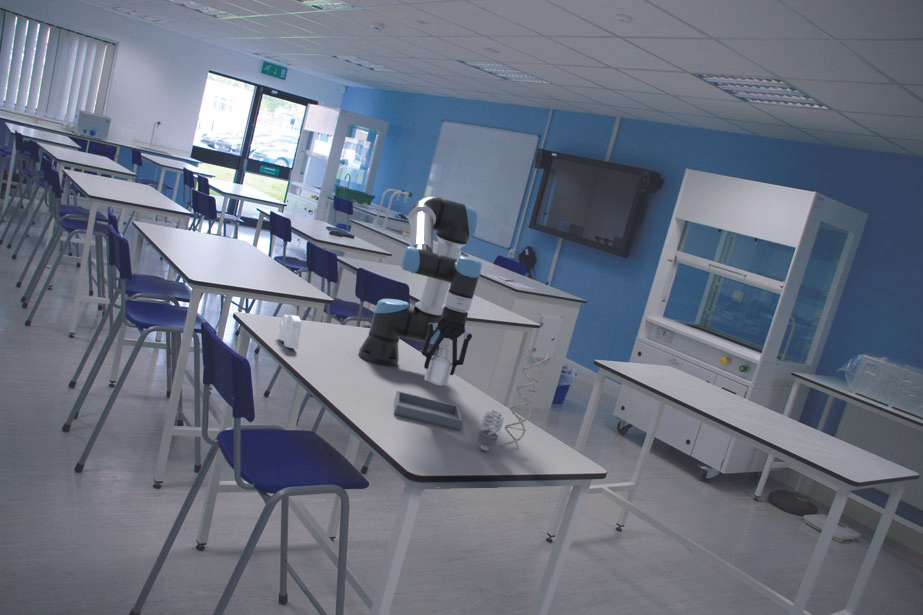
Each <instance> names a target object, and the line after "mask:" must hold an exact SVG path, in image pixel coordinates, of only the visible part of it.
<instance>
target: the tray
mask: <svg viewBox="0 0 923 615" xmlns="http://www.w3.org/2000/svg"><path fill="white" fill-rule="evenodd" d="M393 404H394V405H393V415H394V416H398V417H403V418H407V419H410V420H413V421H418V422H423V423H427V424H432V425H435V426H439V427H444V428H448V429H451V430H456V431H460V430H461V427H462V424H463V418H462V415H461V411H460V408H459V405H456V404H451V403H450V402H449V403H447V402H445V401H440V400H436V399H433V398H427V397H425V396H420V395H415V394H412V393H407V392H404V391H400V390H396V393H395V397H394V402H393Z"/></svg>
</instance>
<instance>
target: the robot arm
mask: <svg viewBox="0 0 923 615" xmlns="http://www.w3.org/2000/svg"><path fill="white" fill-rule="evenodd" d="M407 217H408V218H407V219H408V223H409V225H410V233H409V234H410V236H409V246H406V247H405V249H403V250H404V251H403V254H402V257H401V263H400V268H401V269H402V270H403V271H406V272H409V273H411V274H415V275H420V276H424V277H427V278H426V282H425V285H424V288H423V291H422V294H421V298H420V300H419V301H417V302H415V304H414V307H410V304H409V302H407V301H405V300H404V301H403V300H402V299H395V298H394V299H393V298H381V299H379V300H378V301H377V304H376V306H375V309H374V310H373V313H374V314H373V318H372V320H371V324H370V326H369V327H370V328H369V332H368V335H367V337H366V339H365V340H364V342H363V343H362V345H361V346H360V347H359V350H358V356H359V357H360V358H361V359H362V360H366V361H368V362H371V363H374V364H377V365H382V366H389V367H392V366H393V367H394V366H397V365H398V362H399V361H400V360H399V359H400V358H399V356H400V355H399V341H400V338H404V339H409V340H413V341H416V342H421V343H423V347H422V350H421V355H422V356H424V357H425V362H424V365H423V367H424V369H425V370H426V372H425V375H424V381H426V382H427V381H428V376H429V373H430V369H431V366H432V362H433V357H434V354H436V351H437V350H438V348H439V346H440V345H441V343H442V341H443V340H444V339H449V340H450V341H452V344H451V345H452V347H451V348H452V352H451V353H452V354H451V355H452V356H451V357H452V361H451V362H450V367H449V370H448V374H447V377H446V381H445V384H444V385H443V386H445V387H446V386H448V383H449V379H450V376H453V375H455V371H456V367H457V366H463V365H464V362H465V357H466V355H467V350H468V347H469V346H468V345H469V342H470V341H471V339H472V338H473V334H472V333H471V332H469V331H468V330H466V327H465V326H466V322H467V319H468V316H469V311H470V308H471V305H472V302H473V299H474V294H475V291H476V289H477V288H476V287H477V285H478V281H479V278H480V276H481V273H482V272H481V270H482V267H483V264H482V262H481V261H479V260H477V259H476V258H470V257H467V256H462V255H461V256H459V255H460V251H461V249H462V248H463V247H465V246H466V245H467V244H468V241H472V240H473V239H474V237H475V235H476V230H477V221H478V213H477V210H476V208H474V207H472V206H470V205H467V204H465V203H461V202H457V201H453V200H449V199H446V198H442V197H439V196H426V197H423V198H420V199H419V200H416V202H414V203H413V204H412V206H411V207H410V209H409V211H408V216H407ZM434 231H436V233H435V237H436V238H437V245H436V248H435V251H434ZM444 304H445V306H444ZM462 335H463V338H464V339H463V342H462V346H461V351H460V353H459V354H460V355H459V358H458V339H459V337H461V336H462ZM431 344H432V345H431ZM430 345H431V348H430V347H429V346H430ZM429 348H430V349H429ZM428 350H429V351H428Z"/></svg>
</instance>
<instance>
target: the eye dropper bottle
mask: <svg viewBox="0 0 923 615" xmlns="http://www.w3.org/2000/svg"><path fill="white" fill-rule="evenodd" d="M448 354H449V350H448V345H446V344H444V346H443V347H441V348H440V350H439V353H438V355H437V354H436V355H433V356H432V358H433V362H432V366H431V369H430V373H429V376H428V380H427V381H428V382H429V383H431V384H433V385H436V386H440V387H441V386H445V385H444V384H445V381H446V377H447V374H448V370H449V367H450V363H451V361H450V359H449V358H448Z"/></svg>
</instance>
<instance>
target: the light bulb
mask: <svg viewBox="0 0 923 615" xmlns="http://www.w3.org/2000/svg"><path fill="white" fill-rule="evenodd" d="M484 414H485V415H484V416H483V419H482V420H481V421H482V423H481V426H482V427H483V429H481V430H480V431H479V432H478V438H477V441H478V443H479V444H480V449H481V450H482V451H483V452H486V451H487V452H488V451H489V450H490V447H491V448H492V447H495V446H496V443H497V440H498V438H499V436H498V434H497V433H499V432H500V431H501V428H502V427H503V424H504V419H505V418H504V417H505V416H504V415H503V414H502V413H501V412H499V411H498V410H495V409H491V411H490V412H489V411H485V412H484ZM484 428H485V429H484Z"/></svg>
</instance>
